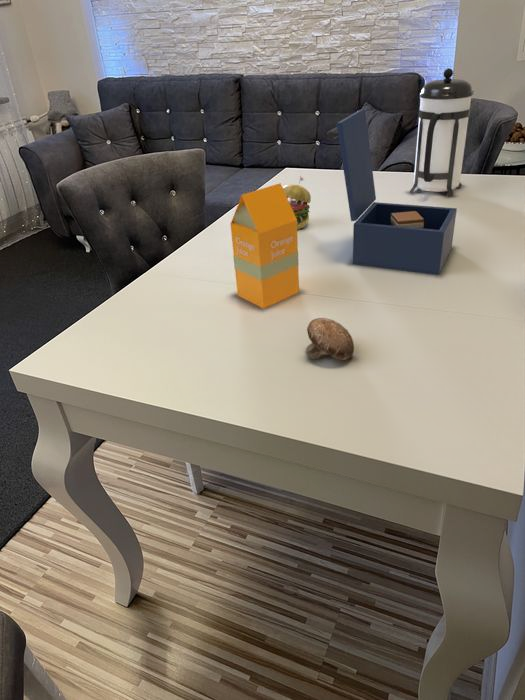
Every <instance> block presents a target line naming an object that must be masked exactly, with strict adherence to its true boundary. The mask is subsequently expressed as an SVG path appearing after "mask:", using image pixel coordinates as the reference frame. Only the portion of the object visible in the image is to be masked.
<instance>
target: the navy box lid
mask: <svg viewBox="0 0 525 700" xmlns="http://www.w3.org/2000/svg"><path fill="white" fill-rule="evenodd" d="M326 138H327V140H328V141H333V140H334V139H336V138H338V142H339V149H340V156H341V162H342V170H343V176H344V182H345V189H346V196H347V202H348V209H349V215H350V221H351V222H356V221H357V220H358V219H359V218H360V217H361V216H362V214H363V213H364V212H365V211H366V210H367V209H368V208H369V207H370V206H371V205H372V204H373V203H374V202H376V200H377V196H376V188H375V180H374V172H373V164H372V156H371V155H372V154H371V149H370V147H371V146H370V141H369V131H368V125H367V116H366V109H365V108H363V109H362V108H361V109H358V110H357V111H355V112H354V113H352V114H350V115H348V116H347V117H345V118H343V119H341V120H340V121H338V122H337V123H336V127H335V128H333V129H331V130H329V131H328V132H327V134H326Z"/></svg>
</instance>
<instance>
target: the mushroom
mask: <svg viewBox="0 0 525 700" xmlns="http://www.w3.org/2000/svg"><path fill="white" fill-rule="evenodd" d="M306 331H307V336H308V339H309V341H310V342H311V343H310V344H309V345H307V347H306V354H307V355H308V357H309V359H311V360H312V361H314V360H317V359H321V358H323V357H326V356H330V357H332V358H334V359H336V360H340V361H346V360H348V359H350V358H351V357H352V356H353V355H354V351H355V345H354V340H353V337H352V335H351V334H350V332H349V330H348V329H347V328H346V327H344V326H343V325H342V324H341V323H340V322H337V321H335V320H334V319H330V318H328V317H327V318H326V317H317V318H314V319H312V320H311V321H310V322H309V323H308V325H307V327H306Z"/></svg>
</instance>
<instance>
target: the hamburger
mask: <svg viewBox="0 0 525 700" xmlns="http://www.w3.org/2000/svg"><path fill="white" fill-rule="evenodd" d="M302 181H305V178H304V177H302V176H301V175H300V176H299V183H298V184H294V183H292V184H291V183H290V184H286V185H282V188H283V190H284V192H285V194H286V197H287V199H288V201H289V203H290V206H291V208H292V210H293V212H294V214H295V217H296V219H297V231H299V230H301V229H302V228H304V227H305V226H306V225H307V224H308V222H309V220H310V215H309V213H310V208H311V206H310V203H311V199H312V197H311V194H310V192H309V190H308V189H307V188H306V187H303V186H302V185H300V182H302ZM289 199H290V200H289Z"/></svg>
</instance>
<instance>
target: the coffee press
mask: <svg viewBox="0 0 525 700" xmlns="http://www.w3.org/2000/svg"><path fill="white" fill-rule="evenodd" d="M442 74H443V77H444V79H436V80H432V81H429V82H427V83H425V84H424V85H423V87H422V88H421V91H420V92H419V95H418V96H419V99H420V101H419V108H418V113H417V114H418V115H417V116H418V127H417V136H416V137H417V138H416V149H415V159H414V160H415V161H414V162H415V163H414V174H413V186H412V187H411V189H410V190H409V193H410V194H411V195H413V194H414V193H415V194H419V193H420V192H421V191H424V192H425V191H426V192H434V193H435V192H441V193H443V194H444V196H445V197H447V198H452V197H454V192H453V190H454V189H458V190H459V189H461V188H462V185H463V184H462V183H461V177H462V169H463V164H464V163H463V161H464V156H465V155H464V154H465V148H466V140H467V133H468V132H467V131H468V125H469V117H470V116H471V107H472V106H471V102H472V101H471V100H472V97H473V96H474V90H473V88H472V85H471V83H470V82H469V81H467V80H464V79H458V78H452V77H453V75H454V71H453V69H452V68H446V69H444V71H443V73H442Z"/></svg>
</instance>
